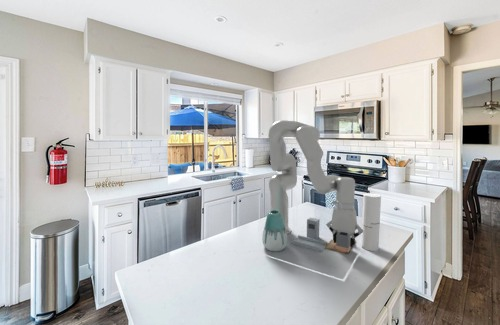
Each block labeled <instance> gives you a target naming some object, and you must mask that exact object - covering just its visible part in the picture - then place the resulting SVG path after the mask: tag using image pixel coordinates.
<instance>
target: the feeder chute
mask: <svg viewBox="0 0 500 325" xmlns="http://www.w3.org/2000/svg"><path fill="white" fill-rule="evenodd" d="M291 244H293V245H295V246H299V247H303V248H306V249H309V250H314V251H318V252H322V251H323V250H324V249H325V246H326V245H327V244H328V241H324V240H321V239H313V238H309V237H307V236H305V235H300V234H298V235H297V239H296V240H294V239H293V240H291Z"/></svg>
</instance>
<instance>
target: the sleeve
mask: <svg viewBox="0 0 500 325" xmlns="http://www.w3.org/2000/svg"><path fill="white" fill-rule="evenodd" d="M350 239H351V234H350V233H348V232H343V231H339V232H338V233H337V234H336V249H337V250H341V251H345V252H348V251H349V249H350ZM349 252H350V251H349Z"/></svg>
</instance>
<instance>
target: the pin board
mask: <svg viewBox="0 0 500 325" xmlns="http://www.w3.org/2000/svg"><path fill="white" fill-rule="evenodd" d="M338 232H339V231H338V230H337V233H338ZM355 243H357V240H356V239H355ZM353 247H354V245H353V246H352V247H350V249H349V251H348V252H345V251H341V250H337V249H336V243H334V240H333V236H332V237H331V239H330V240H329V242H327V245H326V246H325V248H324V249H326V250H328V251H329V250H330V251H332V252H333V251H334V252H336V253H337V252H338V253H342V254H345V255H348V254H349V253H350V251H351V250H352V248H353Z"/></svg>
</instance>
